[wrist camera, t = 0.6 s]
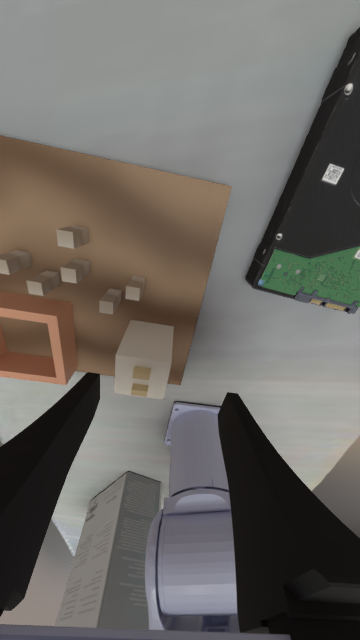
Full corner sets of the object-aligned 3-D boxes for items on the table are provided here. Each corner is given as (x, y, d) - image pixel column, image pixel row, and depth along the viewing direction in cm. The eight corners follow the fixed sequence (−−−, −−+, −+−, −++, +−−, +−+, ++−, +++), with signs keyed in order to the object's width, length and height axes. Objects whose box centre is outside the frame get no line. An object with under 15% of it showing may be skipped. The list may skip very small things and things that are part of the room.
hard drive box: (123, 508, 44) (85, 706, 27) (90, 499, 42) (26, 708, 24) (164, 482, 38) (149, 717, 20) (127, 469, 36) (77, 722, 18)
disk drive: (339, 39, 12) (241, 279, 19) (381, -5, 9) (251, 290, 16) (483, 98, 13) (340, 304, 20) (554, 73, 10) (363, 318, 18)
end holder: (77, 366, 22) (66, 384, 19) (2, 356, 21) (-19, 374, 19) (71, 302, 18) (56, 316, 16) (-21, 287, 17) (-50, 299, 15)
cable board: (180, 375, 24) (180, 404, 21) (2, 350, 22) (-31, 377, 19) (227, 188, 15) (241, 183, 11) (-71, 122, 13) (-161, 93, 10)
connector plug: (167, 358, 21) (163, 405, 16) (128, 353, 21) (112, 399, 16) (173, 326, 19) (171, 368, 14) (130, 319, 19) (113, 360, 14)
